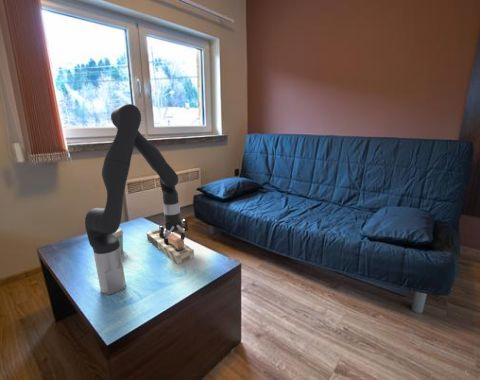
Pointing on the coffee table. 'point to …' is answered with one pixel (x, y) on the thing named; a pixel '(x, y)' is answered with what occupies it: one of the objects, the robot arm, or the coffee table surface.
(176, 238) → the pinkish brown rectangular block
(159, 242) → the rail
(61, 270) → the coffee table surface
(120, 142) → the robot arm
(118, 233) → the coffee cup
